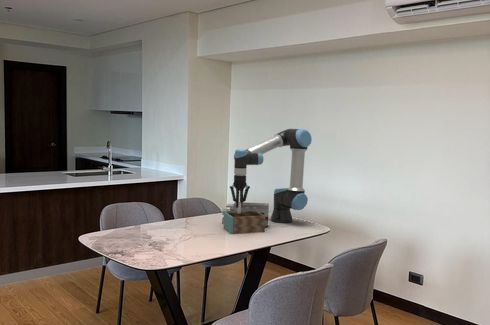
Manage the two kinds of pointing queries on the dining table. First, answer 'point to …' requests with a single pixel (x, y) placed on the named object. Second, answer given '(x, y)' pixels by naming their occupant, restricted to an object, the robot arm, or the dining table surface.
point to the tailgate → (228, 222)
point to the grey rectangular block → (249, 209)
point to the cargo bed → (248, 222)
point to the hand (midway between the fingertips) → (238, 212)
